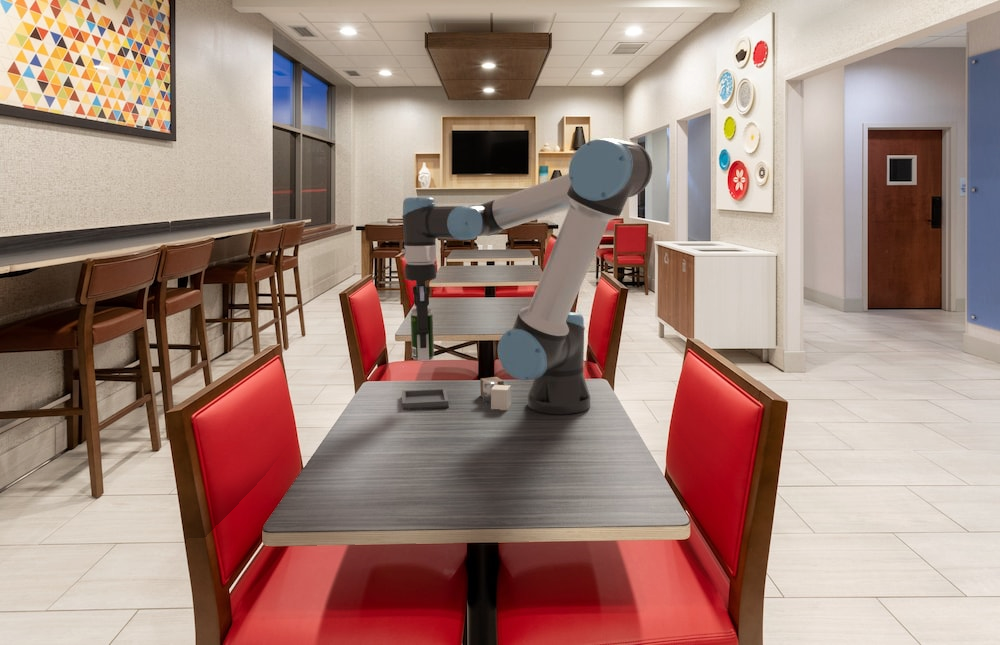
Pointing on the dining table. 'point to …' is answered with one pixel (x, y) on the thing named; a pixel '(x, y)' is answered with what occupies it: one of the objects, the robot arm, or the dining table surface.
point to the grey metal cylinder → (488, 390)
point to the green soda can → (414, 337)
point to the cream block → (501, 397)
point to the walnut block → (500, 382)
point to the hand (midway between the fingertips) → (423, 357)
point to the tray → (424, 399)
